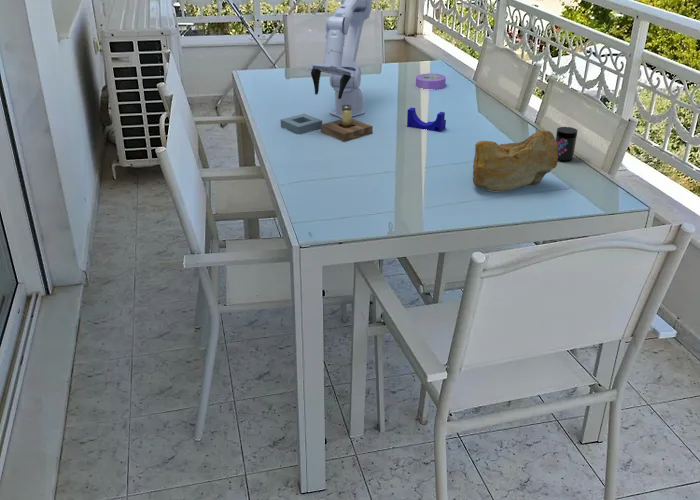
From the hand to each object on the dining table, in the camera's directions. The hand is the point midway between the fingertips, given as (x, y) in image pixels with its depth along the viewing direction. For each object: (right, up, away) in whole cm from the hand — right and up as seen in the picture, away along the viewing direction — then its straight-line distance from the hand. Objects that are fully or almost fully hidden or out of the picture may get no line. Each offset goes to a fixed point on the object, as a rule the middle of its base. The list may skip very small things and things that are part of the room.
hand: (328, 96), depth 224 cm
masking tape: (+39, +16, +55) cm, 69 cm away
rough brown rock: (+51, -30, -29) cm, 66 cm away
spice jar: (+6, -11, +7) cm, 14 cm away
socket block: (+6, -11, +7) cm, 14 cm away
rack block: (-9, -8, +11) cm, 17 cm away
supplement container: (+71, -22, -14) cm, 75 cm away
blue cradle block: (+33, -8, +11) cm, 35 cm away
